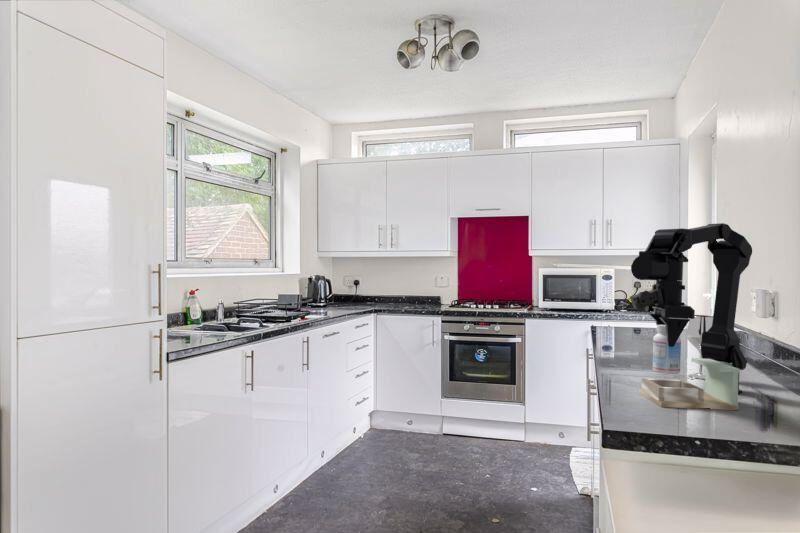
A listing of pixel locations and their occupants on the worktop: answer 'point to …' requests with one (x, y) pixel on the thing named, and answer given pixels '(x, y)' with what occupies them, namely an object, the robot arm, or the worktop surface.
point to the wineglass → (698, 336)
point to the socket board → (681, 395)
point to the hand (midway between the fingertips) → (667, 344)
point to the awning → (720, 380)
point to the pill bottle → (665, 353)
